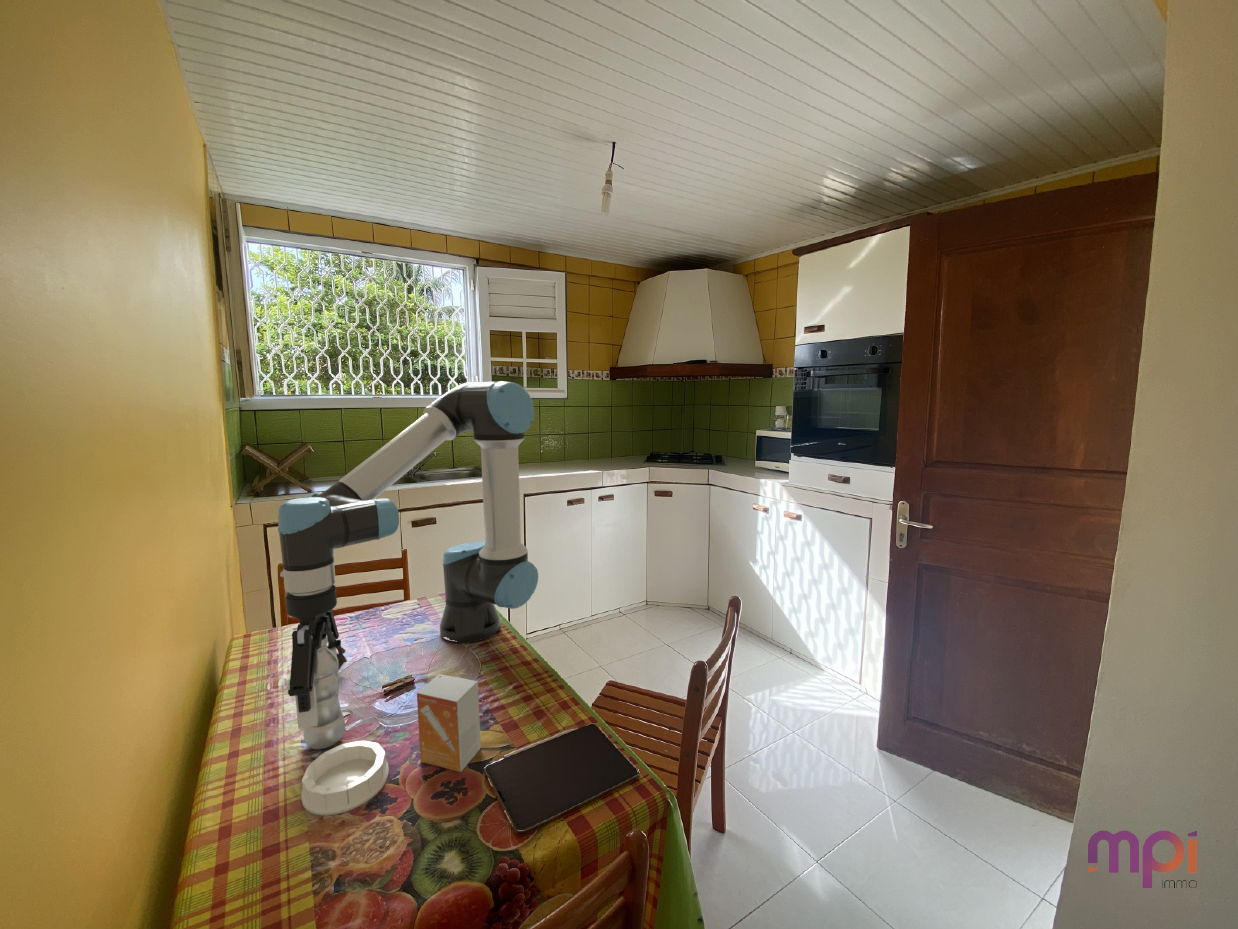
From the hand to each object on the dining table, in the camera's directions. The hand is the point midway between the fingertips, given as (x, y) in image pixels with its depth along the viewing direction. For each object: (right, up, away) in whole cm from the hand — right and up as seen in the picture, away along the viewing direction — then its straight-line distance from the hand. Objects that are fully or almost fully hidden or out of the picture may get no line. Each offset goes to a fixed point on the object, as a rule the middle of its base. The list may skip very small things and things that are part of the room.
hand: (320, 702), depth 90 cm
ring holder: (+9, -9, -8) cm, 15 cm away
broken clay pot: (-14, -5, +24) cm, 28 cm away
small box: (+24, -8, -2) cm, 26 cm away
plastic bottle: (0, -8, +1) cm, 8 cm away
